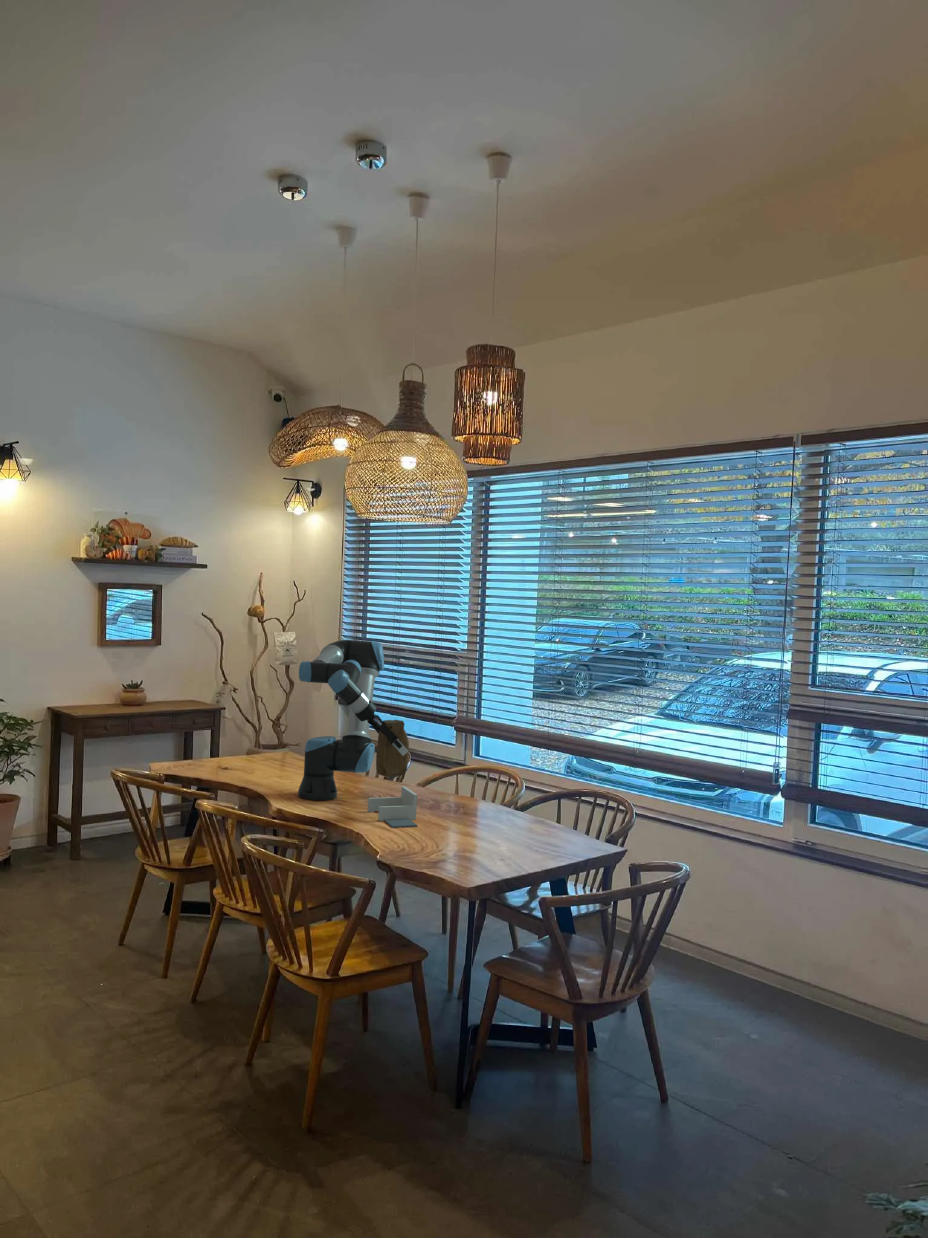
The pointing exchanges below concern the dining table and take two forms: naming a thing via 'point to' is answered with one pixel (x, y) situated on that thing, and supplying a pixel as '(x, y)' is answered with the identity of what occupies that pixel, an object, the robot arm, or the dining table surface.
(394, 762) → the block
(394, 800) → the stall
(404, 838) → the dining table surface
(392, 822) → the mat
